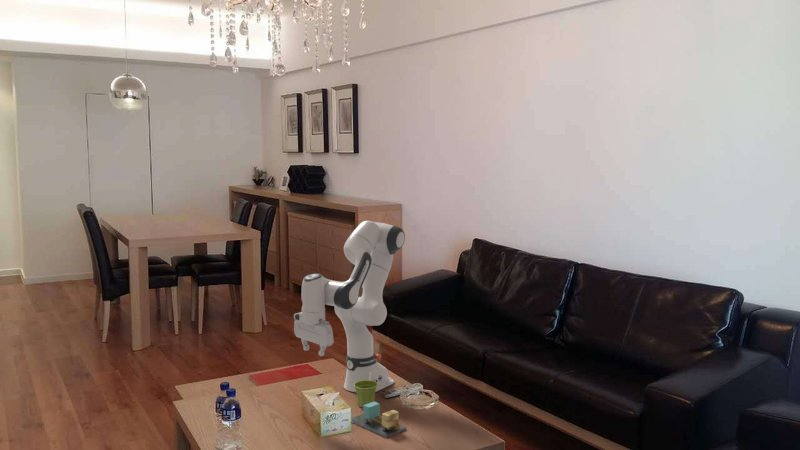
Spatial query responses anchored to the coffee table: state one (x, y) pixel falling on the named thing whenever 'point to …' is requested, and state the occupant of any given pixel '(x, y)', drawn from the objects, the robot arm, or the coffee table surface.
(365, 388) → the plant pot
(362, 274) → the robot arm
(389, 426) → the wooden mallet
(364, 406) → the block
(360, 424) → the steel plate
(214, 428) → the coffee table surface
